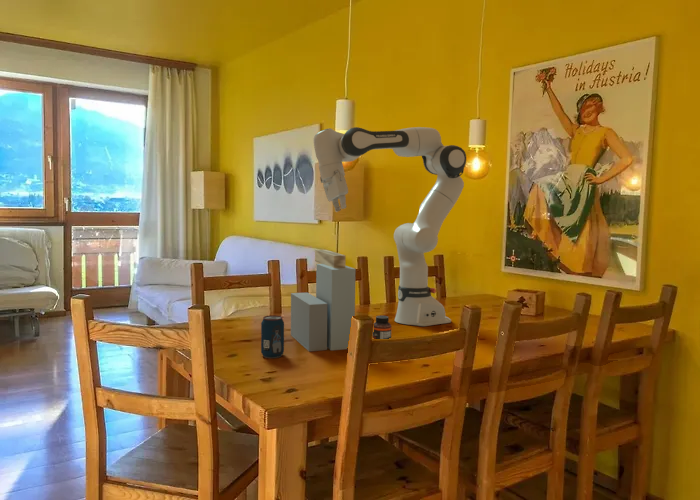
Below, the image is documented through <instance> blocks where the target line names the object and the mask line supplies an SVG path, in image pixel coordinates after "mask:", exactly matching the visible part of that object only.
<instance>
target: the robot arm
mask: <svg viewBox="0 0 700 500" xmlns="http://www.w3.org/2000/svg"><path fill="white" fill-rule="evenodd" d="M313 147H314V153H315V158H316V160H317V161H318V169H319V175H320V177H319V178H320V179H319V180H320V183H321V184H322V185H323V188H324V193H325V195H326V198H327V201H328V202H331V203H332V205H333V208H334V211H335V212H336V213H338V212H340V211H342V210H343V209H344V210H345V209H346V208H347V204H346V203H347V202H346V201H347V199H346V195H348V193H349V187H348V184H347V181H346V177H345V176H346V173H345V170H344V165H343V162H354V161H355V160H357V159H358V158H360V157H361V156H363V155H365V154H366V153H367V152H369V151H372V150H383V149H384V150H385V149H386V150H387V149H389V150H390V149H391V150H393V151H392V152H394V154H395V155H396V156H398V157H406V158H410V157H411V158H412V157H413V158H414V157H422V161H423V162H422V163H423V167H424V169H425V170H426V171H427V172H428V173H430V174H431V175H435V176H437V178H436V181H435V183H434V185H433V186H432V187H431V189H430V191H429V192H428V193H427V195H426V196H425V198H424V199H423V201H422V202H421V204H420V205H419V207H418V208H419V211H418V214H417V216H416V219H415V220H414V222H413V223H411V222H407V223H403V224H400V225H399V226H398V227H396V228H395V230H394V233H393V240H394V242H395V245H396V250H397V257H398V262H399V285H398V288H397V290H398V291H397V298H398V303H397V309H396V313H395V317H394V322H396V323H399V324H403V325H409V326H410V325H411V326H416V327H417V326H418V327H428V326H434V325H435V326H436V325H440V324H441V325H443V324H449V323H451V322H452V319H451V318H449V317H448V316H446V311H445V310H446V309H445V307H444V305H443V303H441V302H440V301H439V300H437V299H436V298H435V297H433V296H432V294H436V293H437V289H436V288H435V287H429V286H428V282H429V281H428V280H429V279H428V278H429V267H428V264H427V262H426V259H425V253H429V252H431V251H433V250H434V249H435V248H436V247H437V245H438V241H439V237H438V235H439V233H440V231H441V227H442V225H443V223H444V221H445V219H446V218H447V217H448V215H449V213H450V212H451V210H452V208H454V206H455V204H456V203H457V201H458V200H459V198H460V196H461V194H462V191H463V188H464V185H465V182H464V180H463V178H462V177H461V176H462V175H463V173H464V170H465V167H466V165H467V164H466V163H467V154H466V151H465V150H464V149H463V148H462V147H460V146H458V145H453V144H450V145H444V144H443V142H442V136H441V134H440V132H439V130H437V129H436V128H433V127H424V126H423V127H421V126H417V127H414V126H413V127H407V128H401V129H396V130H378V131H376V130H375V131H374V130H368V129H365V128H362V127H359V126H358V127H356V126H355V127H350V128H349V129H348V130H347V131H345V133H342V132H339V131H336V130H334V129H333V128H326V129H323V130H320V131H319V132H317V133H316V134H315V135H314V137H313ZM339 203H340V204H339Z"/></svg>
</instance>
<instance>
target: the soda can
mask: <svg viewBox="0 0 700 500" xmlns="http://www.w3.org/2000/svg"><path fill="white" fill-rule="evenodd" d="M260 326H261V327H260V334H261V335H260V337H261V338H260V352H261V355H262V356H263V357H264V358H266V359H279V358H281V357H282V356H283V354H284V352H285V322H284V320H283V316H281V315H276V314H275V315H266V316H265V315H264V316H263V317H262V320H261V323H260Z"/></svg>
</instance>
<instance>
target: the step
mask: <svg viewBox="0 0 700 500" xmlns="http://www.w3.org/2000/svg"><path fill="white" fill-rule="evenodd" d="M327 307H328V304H327V303H325V302H324V301H322V300H320V299H318V298H316V295H315V296H314V295H313V294H311V293H309V292H291V293H290V336H291V337H292V338H293V339H295V340H296V341H297V343H299V344H300V345H301V346H303V348H304V349H306V350H307V351H308V352H317V351H318V352H319V351H327V350H328V348H327Z"/></svg>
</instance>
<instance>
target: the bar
mask: <svg viewBox="0 0 700 500" xmlns="http://www.w3.org/2000/svg"><path fill="white" fill-rule="evenodd" d="M314 262H316V263H318V264H324V265H327V266H330V267H332V268H345V266H346V255H345V254H341V253H338V252H335V251H331V250H329V249H314Z"/></svg>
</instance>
